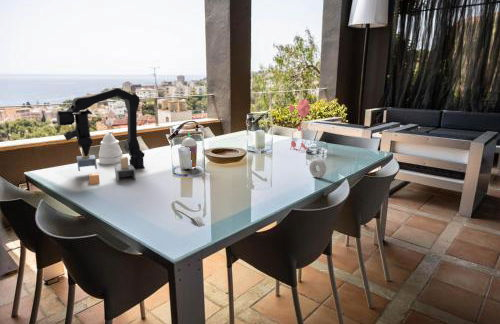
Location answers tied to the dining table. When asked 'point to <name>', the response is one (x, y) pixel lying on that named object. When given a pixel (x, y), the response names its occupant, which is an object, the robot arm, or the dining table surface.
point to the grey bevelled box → (124, 169)
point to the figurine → (302, 110)
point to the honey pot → (109, 150)
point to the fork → (191, 216)
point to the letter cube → (94, 178)
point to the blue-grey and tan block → (86, 160)
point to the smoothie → (191, 148)
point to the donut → (321, 168)
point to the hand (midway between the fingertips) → (86, 155)
